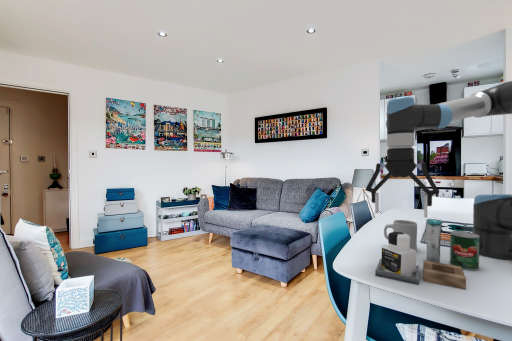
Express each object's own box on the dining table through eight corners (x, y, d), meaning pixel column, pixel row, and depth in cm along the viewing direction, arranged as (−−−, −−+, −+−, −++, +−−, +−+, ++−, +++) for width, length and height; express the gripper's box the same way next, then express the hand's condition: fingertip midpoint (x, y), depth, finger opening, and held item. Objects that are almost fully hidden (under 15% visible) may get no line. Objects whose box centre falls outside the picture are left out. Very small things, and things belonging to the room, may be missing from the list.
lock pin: (440, 261, 94) (441, 219, 94) (441, 265, 90) (442, 222, 90) (425, 258, 97) (426, 218, 96) (425, 262, 93) (426, 220, 92)
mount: (460, 276, 82) (461, 266, 82) (465, 289, 74) (466, 278, 74) (423, 269, 88) (423, 260, 87) (423, 280, 79) (423, 270, 79)
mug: (417, 247, 109) (417, 221, 109) (416, 253, 102) (416, 225, 101) (385, 242, 116) (385, 217, 115) (382, 248, 108) (382, 221, 108)
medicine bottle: (380, 267, 86) (381, 231, 86) (396, 264, 89) (397, 229, 89) (400, 276, 80) (401, 237, 79) (416, 272, 83) (417, 234, 82)
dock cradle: (418, 270, 86) (418, 265, 86) (418, 284, 76) (418, 279, 76) (380, 263, 92) (380, 258, 92) (375, 275, 83) (375, 270, 83)
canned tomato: (470, 261, 94) (470, 231, 93) (484, 271, 86) (485, 237, 86) (445, 260, 95) (445, 230, 95) (457, 269, 88) (457, 236, 87)
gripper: (448, 146, 80) (447, 215, 80) (360, 149, 93) (361, 209, 94) (450, 145, 73) (450, 221, 74) (356, 149, 86) (356, 213, 87)
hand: (400, 214), depth 84 cm, fingers open, 13 cm apart
